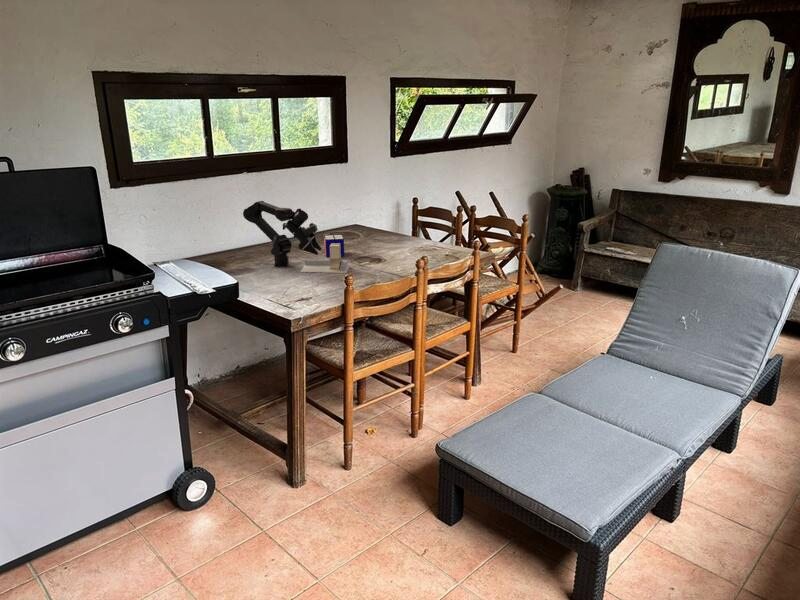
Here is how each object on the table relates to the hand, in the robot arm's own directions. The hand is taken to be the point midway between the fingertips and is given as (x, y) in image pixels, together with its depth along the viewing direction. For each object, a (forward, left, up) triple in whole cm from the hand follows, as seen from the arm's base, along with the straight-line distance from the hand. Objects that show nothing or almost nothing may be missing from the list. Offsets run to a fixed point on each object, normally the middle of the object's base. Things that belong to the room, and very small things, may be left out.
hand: (319, 252), depth 305 cm
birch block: (+8, 0, -8) cm, 11 cm away
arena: (+3, -2, -9) cm, 9 cm away
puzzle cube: (+3, +29, -9) cm, 30 cm away
